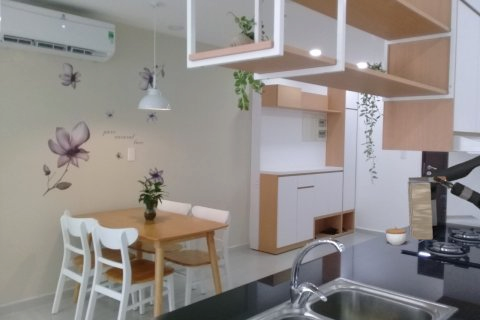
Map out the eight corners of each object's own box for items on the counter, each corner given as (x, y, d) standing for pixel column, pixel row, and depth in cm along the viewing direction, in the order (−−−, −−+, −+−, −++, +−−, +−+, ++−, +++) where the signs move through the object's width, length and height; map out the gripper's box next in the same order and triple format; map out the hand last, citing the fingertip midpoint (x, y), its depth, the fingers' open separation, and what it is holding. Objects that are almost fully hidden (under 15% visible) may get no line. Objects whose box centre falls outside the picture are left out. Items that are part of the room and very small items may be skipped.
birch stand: (410, 234, 258) (407, 177, 258) (427, 234, 256) (425, 176, 256) (414, 239, 244) (411, 178, 243) (432, 239, 241) (430, 178, 241)
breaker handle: (410, 182, 252) (410, 177, 252) (444, 181, 248) (444, 176, 248) (411, 183, 249) (411, 178, 249) (446, 182, 244) (445, 176, 244)
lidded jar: (392, 241, 242) (392, 224, 242) (410, 243, 234) (409, 226, 233) (382, 244, 235) (381, 227, 235) (400, 247, 227) (399, 229, 227)
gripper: (461, 184, 251) (433, 171, 254) (468, 186, 237) (439, 172, 240) (455, 195, 252) (427, 182, 255) (461, 198, 238) (432, 184, 241)
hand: (433, 177), depth 248 cm, fingers open, 4 cm apart
